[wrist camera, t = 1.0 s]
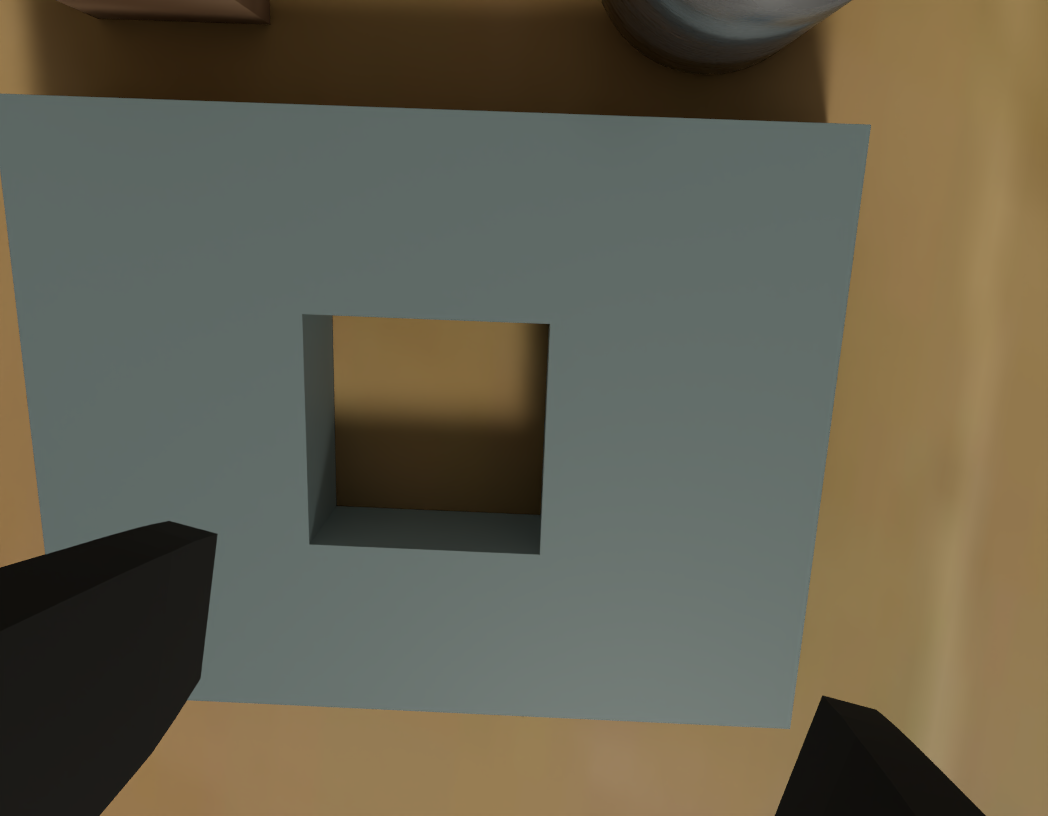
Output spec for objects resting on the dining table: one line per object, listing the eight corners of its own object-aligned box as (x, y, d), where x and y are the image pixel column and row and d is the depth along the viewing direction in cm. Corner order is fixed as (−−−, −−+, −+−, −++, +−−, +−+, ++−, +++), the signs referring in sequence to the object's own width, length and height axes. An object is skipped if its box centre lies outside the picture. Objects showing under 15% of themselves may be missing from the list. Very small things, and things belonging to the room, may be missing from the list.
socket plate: (114, 641, 22) (61, 694, 20) (62, 108, 19) (-9, 93, 16) (762, 671, 22) (790, 728, 19) (828, 136, 18) (870, 125, 16)
